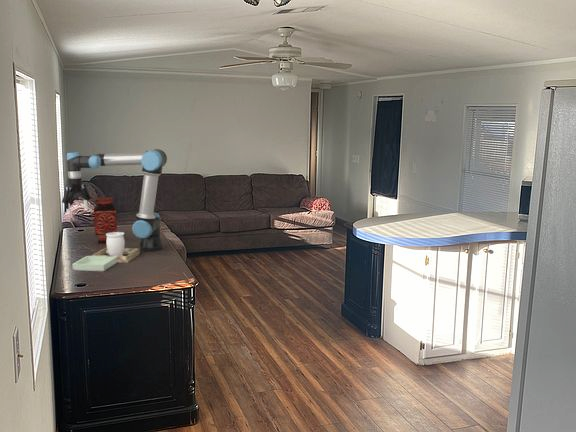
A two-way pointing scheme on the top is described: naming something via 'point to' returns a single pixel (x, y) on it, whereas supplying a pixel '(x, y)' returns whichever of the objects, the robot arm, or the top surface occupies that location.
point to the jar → (115, 243)
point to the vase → (104, 218)
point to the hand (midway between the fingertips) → (77, 212)
